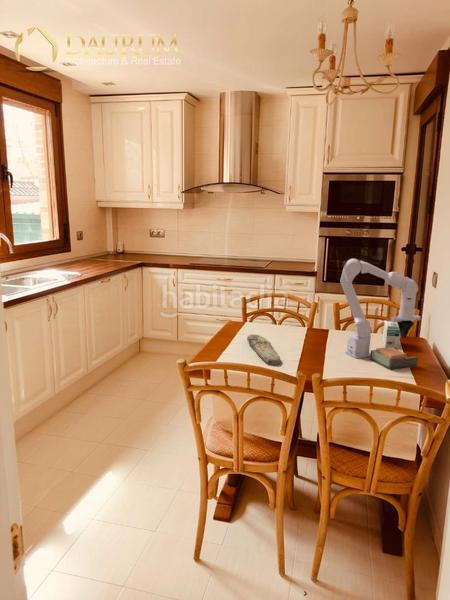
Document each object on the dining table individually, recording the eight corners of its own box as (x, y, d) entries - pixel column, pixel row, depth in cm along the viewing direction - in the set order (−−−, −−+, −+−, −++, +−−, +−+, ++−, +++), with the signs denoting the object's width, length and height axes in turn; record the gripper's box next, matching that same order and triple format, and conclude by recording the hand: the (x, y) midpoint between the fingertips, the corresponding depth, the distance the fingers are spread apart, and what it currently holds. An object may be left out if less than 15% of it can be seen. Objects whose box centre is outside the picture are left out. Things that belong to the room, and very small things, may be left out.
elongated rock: (262, 369, 179) (285, 369, 182) (264, 358, 178) (286, 358, 180) (242, 339, 212) (261, 339, 214) (243, 328, 211) (262, 329, 213)
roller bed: (390, 370, 179) (391, 359, 177) (369, 359, 190) (370, 349, 189) (416, 366, 183) (417, 356, 182) (394, 356, 195) (396, 346, 194)
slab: (390, 361, 180) (391, 355, 179) (375, 353, 188) (376, 348, 188) (405, 359, 183) (406, 353, 182) (390, 352, 191) (391, 346, 191)
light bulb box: (399, 348, 206) (402, 327, 204) (384, 347, 207) (387, 325, 205) (395, 341, 216) (398, 321, 214) (381, 340, 218) (384, 320, 215)
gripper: (400, 310, 180) (396, 341, 183) (427, 308, 185) (423, 338, 188) (388, 306, 187) (385, 336, 190) (415, 304, 192) (411, 333, 195)
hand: (403, 336), depth 190 cm, fingers closed
